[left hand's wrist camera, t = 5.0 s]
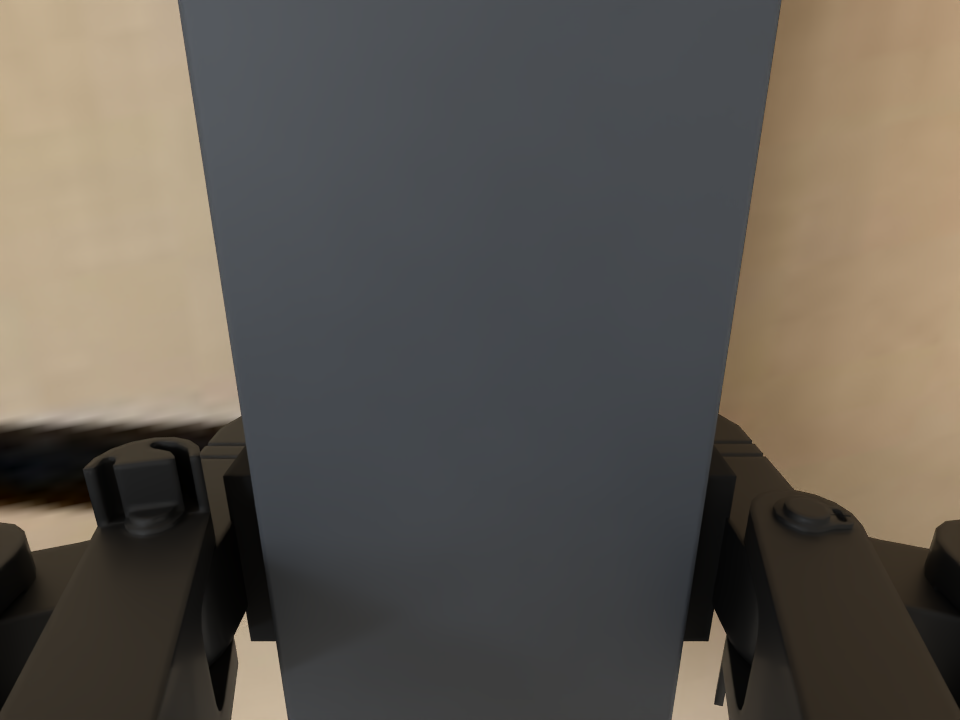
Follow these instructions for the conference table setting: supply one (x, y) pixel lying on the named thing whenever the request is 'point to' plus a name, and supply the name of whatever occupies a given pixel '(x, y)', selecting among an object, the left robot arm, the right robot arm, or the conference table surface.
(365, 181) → the bar
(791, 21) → the conference table surface
